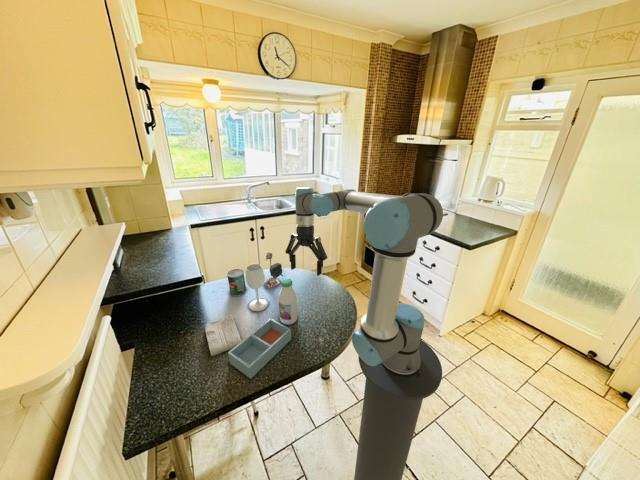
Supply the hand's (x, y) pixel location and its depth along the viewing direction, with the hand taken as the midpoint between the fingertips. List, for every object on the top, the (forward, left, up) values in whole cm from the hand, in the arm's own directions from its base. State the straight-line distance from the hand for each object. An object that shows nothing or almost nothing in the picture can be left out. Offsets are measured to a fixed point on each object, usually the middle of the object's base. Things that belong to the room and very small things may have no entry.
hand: (306, 271), depth 114 cm
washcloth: (+16, +35, -19) cm, 43 cm away
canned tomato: (+36, +11, -19) cm, 42 cm away
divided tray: (-2, +31, -19) cm, 36 cm away
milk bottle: (+1, +12, -19) cm, 23 cm away
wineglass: (+19, +13, -19) cm, 30 cm away
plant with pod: (+26, -5, -19) cm, 33 cm away
